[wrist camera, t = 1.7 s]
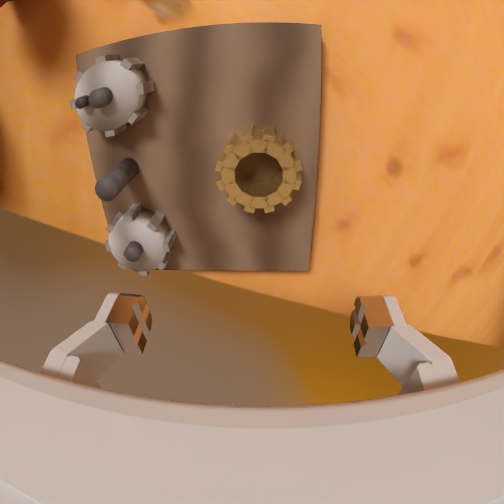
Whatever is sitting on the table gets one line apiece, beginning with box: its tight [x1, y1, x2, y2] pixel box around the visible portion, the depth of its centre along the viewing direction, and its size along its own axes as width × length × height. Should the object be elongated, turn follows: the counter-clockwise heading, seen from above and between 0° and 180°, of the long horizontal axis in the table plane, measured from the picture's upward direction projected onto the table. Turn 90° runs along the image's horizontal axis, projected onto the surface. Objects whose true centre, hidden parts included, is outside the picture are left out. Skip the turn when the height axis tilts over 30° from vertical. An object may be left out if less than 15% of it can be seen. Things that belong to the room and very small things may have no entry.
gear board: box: [70, 23, 321, 276], centre depth 24 cm, size 21×24×7 cm
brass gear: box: [215, 124, 302, 213], centre depth 24 cm, size 6×6×4 cm
